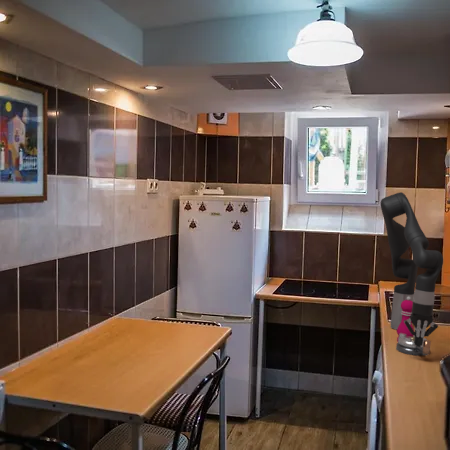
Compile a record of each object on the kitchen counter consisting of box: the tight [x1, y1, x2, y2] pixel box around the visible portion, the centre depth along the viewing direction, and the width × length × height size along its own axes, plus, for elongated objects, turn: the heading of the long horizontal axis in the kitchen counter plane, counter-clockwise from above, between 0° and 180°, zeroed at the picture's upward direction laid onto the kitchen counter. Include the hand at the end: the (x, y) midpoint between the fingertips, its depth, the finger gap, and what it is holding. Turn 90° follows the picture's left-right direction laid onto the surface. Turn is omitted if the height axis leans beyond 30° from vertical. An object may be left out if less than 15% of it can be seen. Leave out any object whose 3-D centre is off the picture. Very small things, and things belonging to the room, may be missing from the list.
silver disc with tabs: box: [395, 342, 424, 357], centre depth 225 cm, size 12×12×2 cm
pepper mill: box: [396, 297, 415, 343], centre depth 237 cm, size 7×7×20 cm
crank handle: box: [397, 333, 432, 356], centre depth 220 cm, size 20×11×6 cm, turn 4°
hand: (417, 346), depth 212 cm, fingers closed
